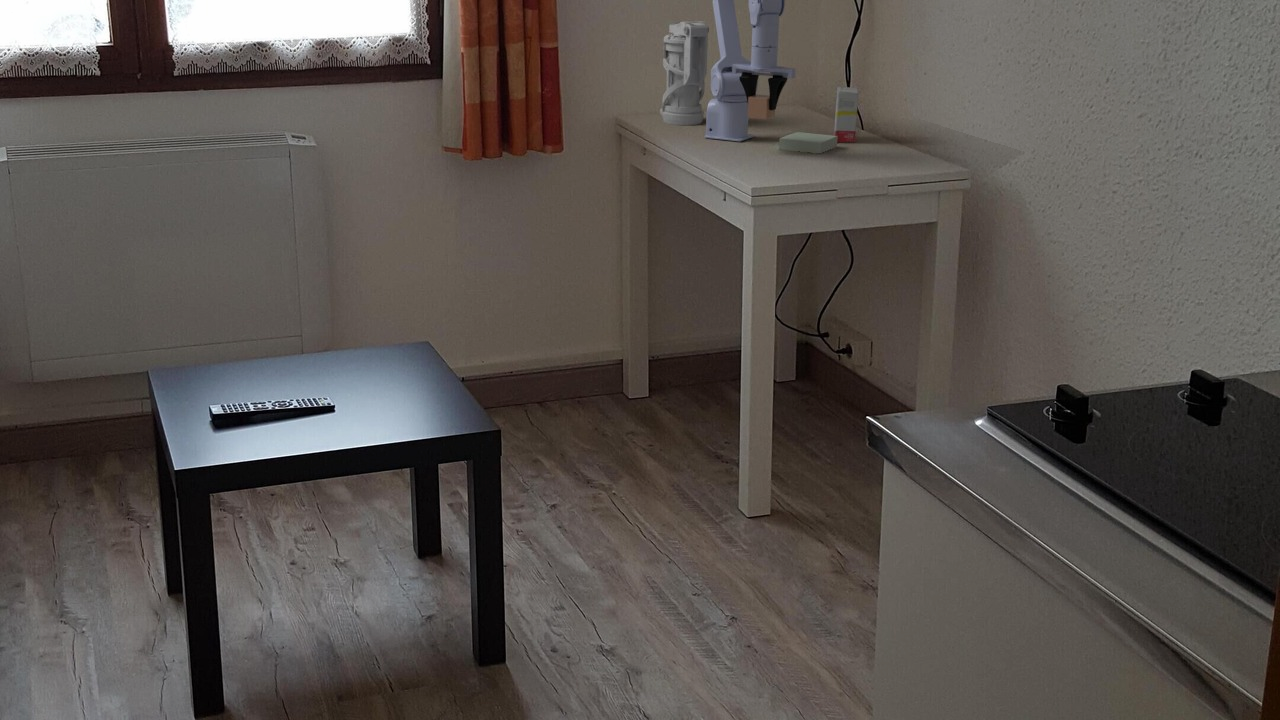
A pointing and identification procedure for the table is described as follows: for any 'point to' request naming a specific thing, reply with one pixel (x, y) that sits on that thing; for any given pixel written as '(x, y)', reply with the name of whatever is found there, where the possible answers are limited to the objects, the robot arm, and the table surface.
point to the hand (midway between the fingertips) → (762, 108)
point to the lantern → (685, 72)
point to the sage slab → (807, 142)
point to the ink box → (846, 114)
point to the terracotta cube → (759, 107)
